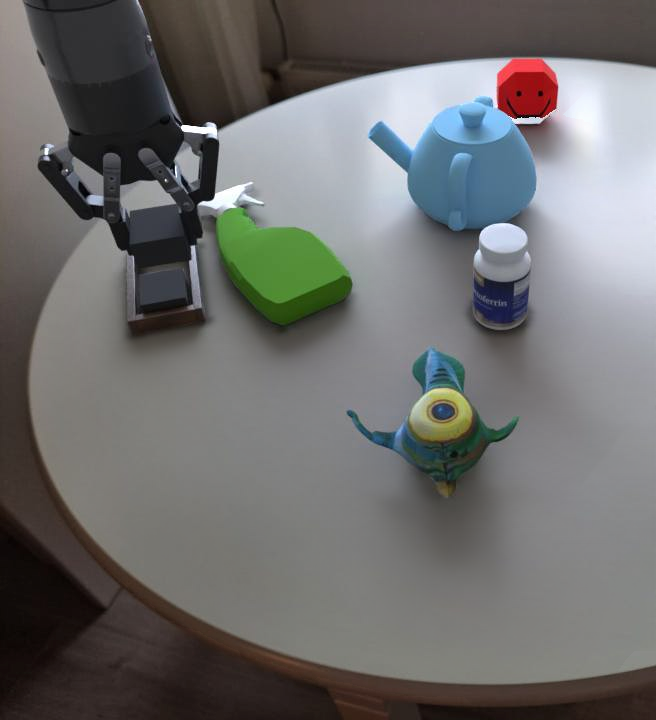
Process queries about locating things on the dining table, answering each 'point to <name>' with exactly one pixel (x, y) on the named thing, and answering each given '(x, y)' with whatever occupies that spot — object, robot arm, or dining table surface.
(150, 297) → the pad
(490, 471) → the dining table surface
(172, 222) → the pad
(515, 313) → the pill bottle
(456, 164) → the teapot
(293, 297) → the spray bottle
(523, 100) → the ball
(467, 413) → the decorative fish
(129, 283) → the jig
